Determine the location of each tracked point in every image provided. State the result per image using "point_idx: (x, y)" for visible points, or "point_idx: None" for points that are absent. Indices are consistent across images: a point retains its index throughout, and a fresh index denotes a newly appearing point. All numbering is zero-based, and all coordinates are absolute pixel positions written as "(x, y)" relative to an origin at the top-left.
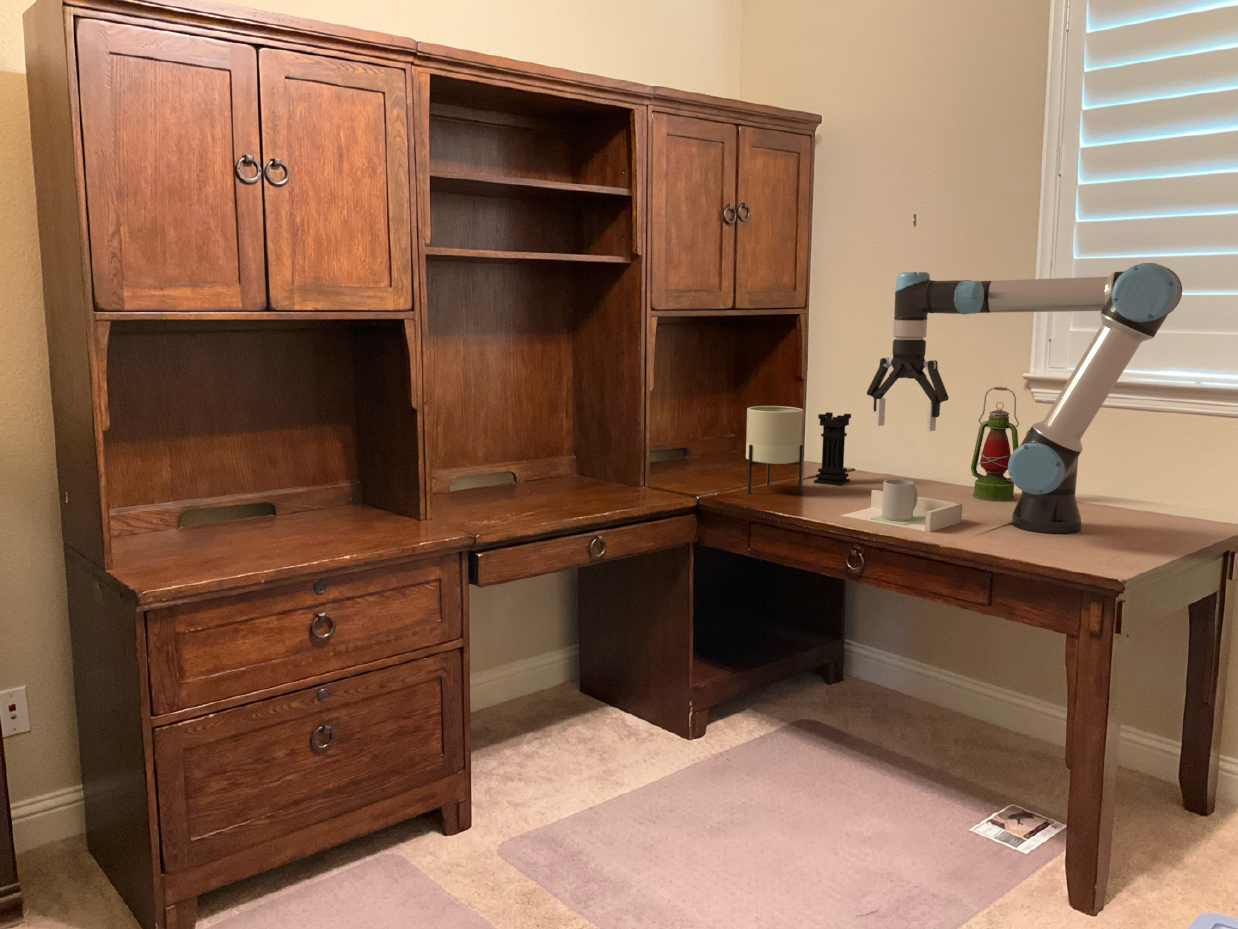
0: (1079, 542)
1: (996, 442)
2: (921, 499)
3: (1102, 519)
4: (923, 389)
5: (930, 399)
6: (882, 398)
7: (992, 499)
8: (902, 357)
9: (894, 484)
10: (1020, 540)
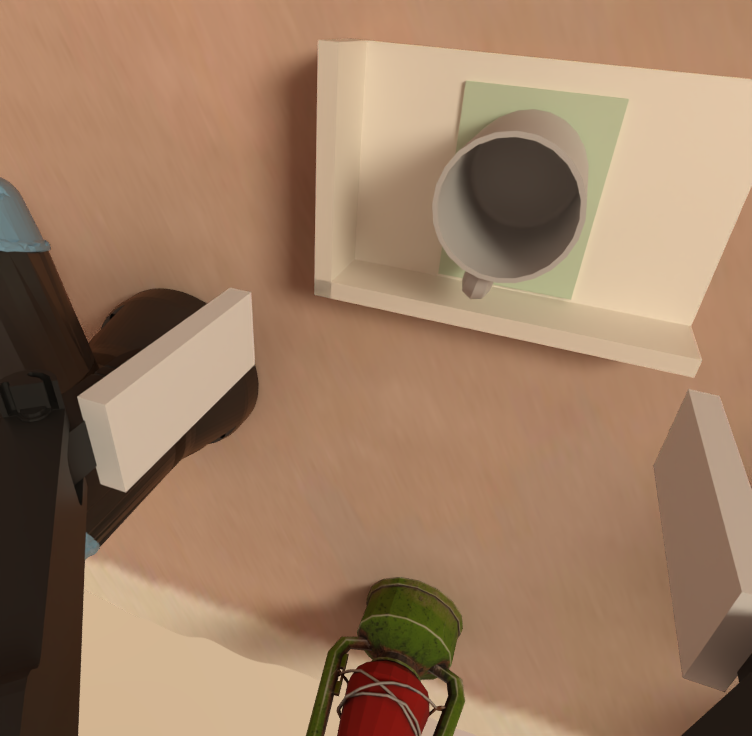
0: (59, 237)
1: None
2: (462, 307)
3: (159, 488)
4: (46, 531)
5: (58, 432)
6: (726, 685)
7: (399, 581)
8: None
9: (503, 132)
10: (138, 160)
